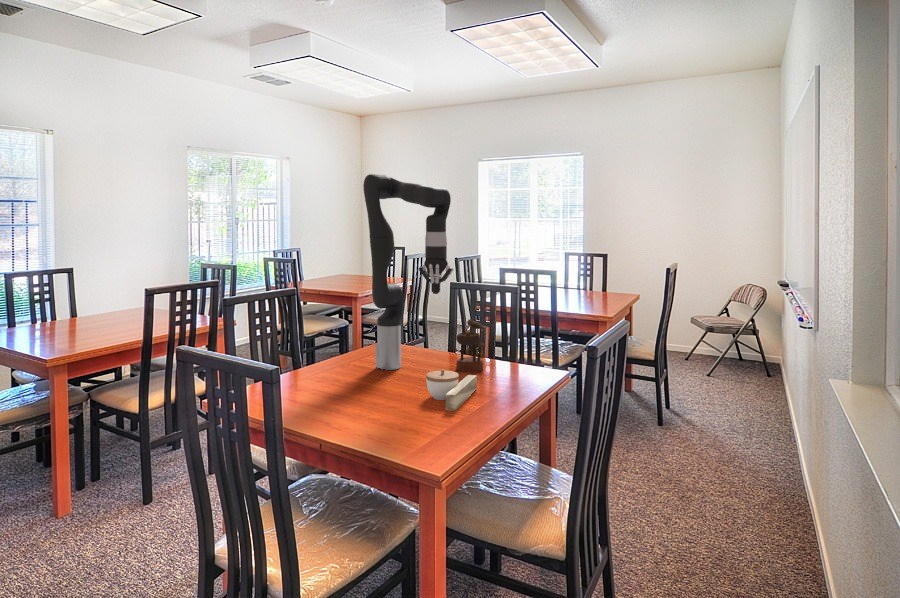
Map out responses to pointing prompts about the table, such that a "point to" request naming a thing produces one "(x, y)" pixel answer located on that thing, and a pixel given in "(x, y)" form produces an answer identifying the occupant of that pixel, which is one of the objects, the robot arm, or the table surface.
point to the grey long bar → (461, 392)
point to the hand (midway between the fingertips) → (435, 293)
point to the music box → (469, 339)
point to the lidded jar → (441, 383)
